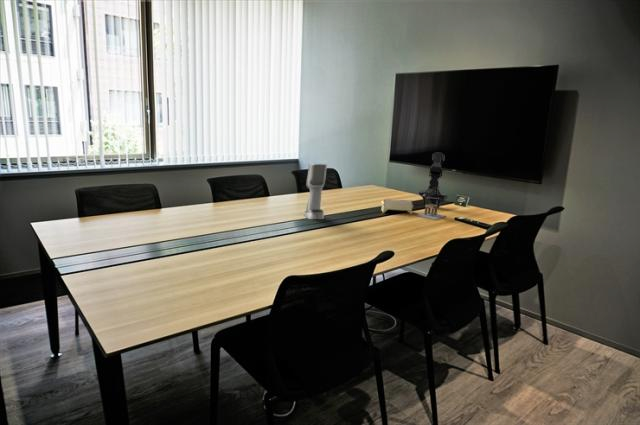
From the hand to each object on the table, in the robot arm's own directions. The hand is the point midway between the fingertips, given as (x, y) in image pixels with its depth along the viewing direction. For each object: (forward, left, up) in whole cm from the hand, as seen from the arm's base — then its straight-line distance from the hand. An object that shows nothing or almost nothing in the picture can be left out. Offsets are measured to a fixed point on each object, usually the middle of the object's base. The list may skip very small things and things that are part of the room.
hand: (431, 207), depth 287 cm
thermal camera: (+67, -47, -6) cm, 82 cm away
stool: (0, 0, -6) cm, 6 cm away
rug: (+1, +1, -6) cm, 6 cm away
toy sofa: (+11, -20, -6) cm, 24 cm away
